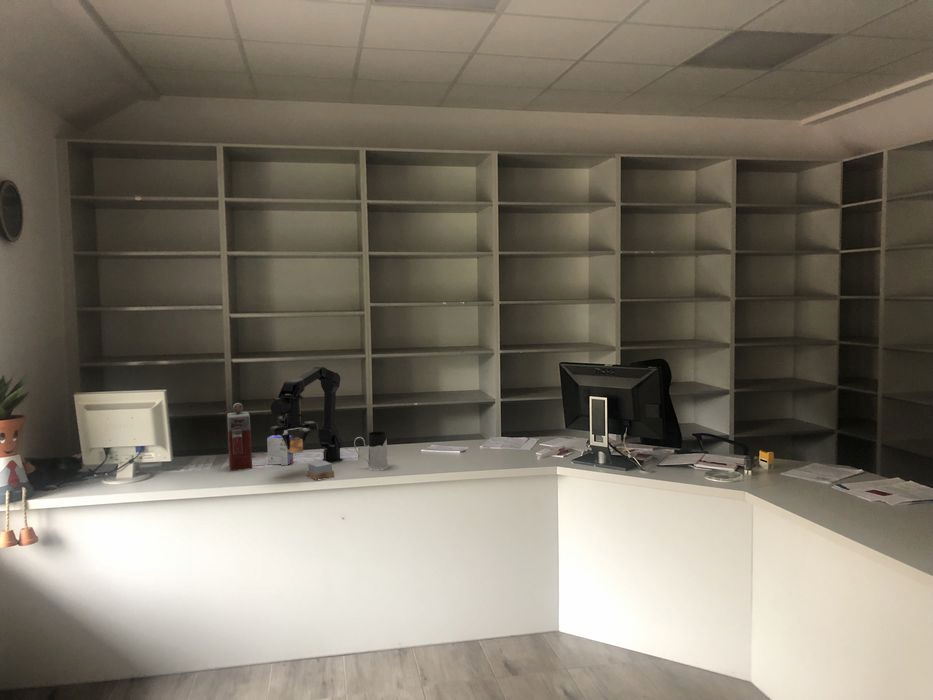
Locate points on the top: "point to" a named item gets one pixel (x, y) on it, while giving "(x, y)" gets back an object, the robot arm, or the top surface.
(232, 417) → the red and grey bottle
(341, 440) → the robot arm
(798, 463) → the top surface
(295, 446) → the orange cube
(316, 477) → the tower base
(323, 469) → the tower top
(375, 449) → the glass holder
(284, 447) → the ink cartridge box
